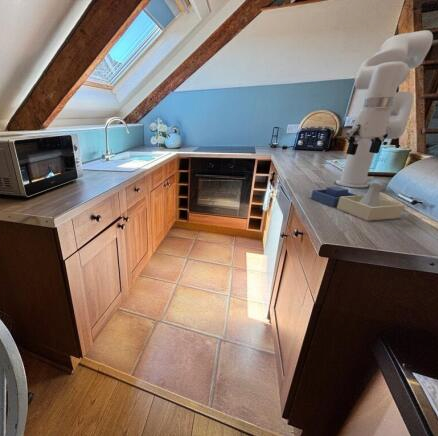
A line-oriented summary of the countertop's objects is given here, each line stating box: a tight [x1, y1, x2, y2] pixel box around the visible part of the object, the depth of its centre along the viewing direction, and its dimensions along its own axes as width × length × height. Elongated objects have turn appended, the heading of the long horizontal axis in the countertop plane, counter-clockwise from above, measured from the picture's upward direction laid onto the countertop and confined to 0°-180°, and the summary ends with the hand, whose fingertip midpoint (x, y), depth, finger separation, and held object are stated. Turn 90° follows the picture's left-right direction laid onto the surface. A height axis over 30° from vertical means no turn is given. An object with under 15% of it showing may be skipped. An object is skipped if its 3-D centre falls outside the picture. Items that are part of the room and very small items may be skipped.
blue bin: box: [310, 188, 359, 208], centre depth 98 cm, size 11×11×4 cm
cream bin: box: [336, 194, 405, 221], centre depth 86 cm, size 12×12×5 cm
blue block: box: [325, 186, 349, 198], centre depth 97 cm, size 5×5×5 cm
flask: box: [359, 182, 384, 207], centre depth 85 cm, size 7×7×10 cm
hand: (362, 153), depth 92 cm, fingers open, 9 cm apart
